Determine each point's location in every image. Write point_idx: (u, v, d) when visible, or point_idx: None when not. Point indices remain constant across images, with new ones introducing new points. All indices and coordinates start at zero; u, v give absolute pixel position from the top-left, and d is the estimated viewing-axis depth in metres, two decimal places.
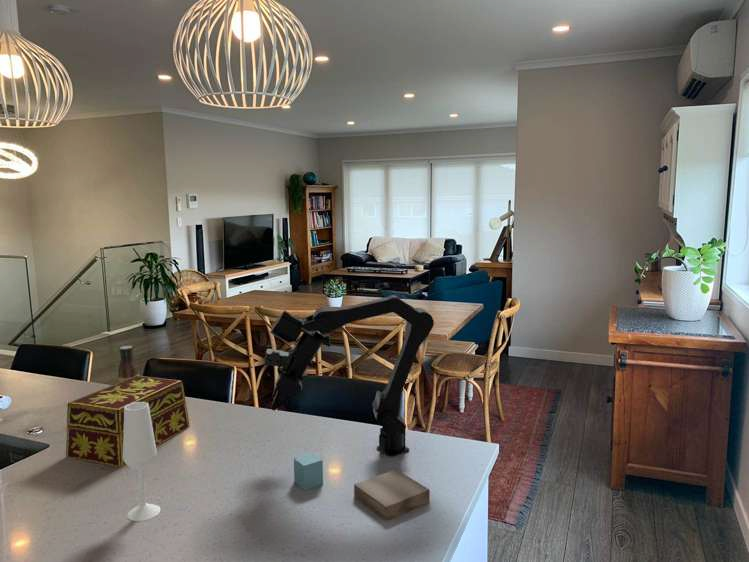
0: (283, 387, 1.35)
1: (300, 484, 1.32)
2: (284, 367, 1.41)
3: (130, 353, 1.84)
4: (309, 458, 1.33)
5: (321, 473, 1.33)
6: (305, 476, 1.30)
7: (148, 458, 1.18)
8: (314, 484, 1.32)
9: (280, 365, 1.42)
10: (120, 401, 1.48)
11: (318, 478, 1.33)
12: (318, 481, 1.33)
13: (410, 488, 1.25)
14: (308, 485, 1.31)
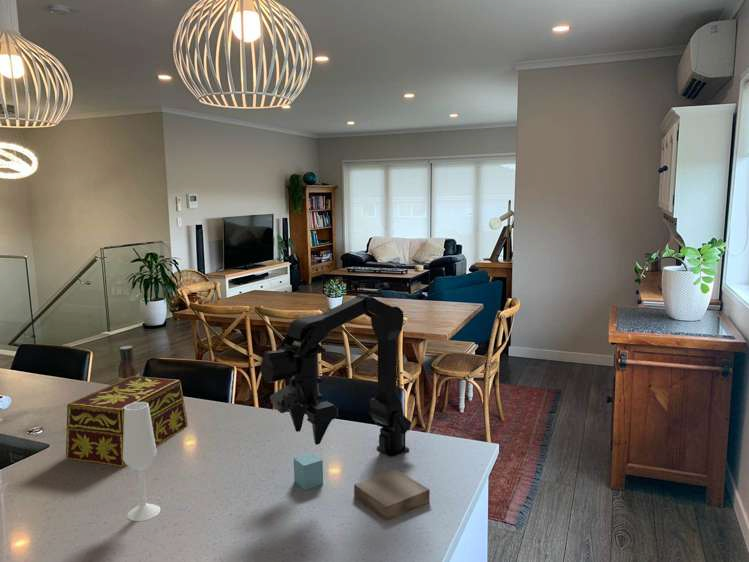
0: (322, 419, 1.23)
1: (300, 484, 1.32)
2: (302, 401, 1.27)
3: (130, 353, 1.84)
4: (309, 458, 1.33)
5: (321, 473, 1.33)
6: (305, 476, 1.30)
7: (148, 458, 1.18)
8: (314, 484, 1.32)
9: None
10: (121, 401, 1.48)
11: (318, 478, 1.33)
12: (318, 481, 1.33)
13: (410, 488, 1.25)
14: (308, 485, 1.31)
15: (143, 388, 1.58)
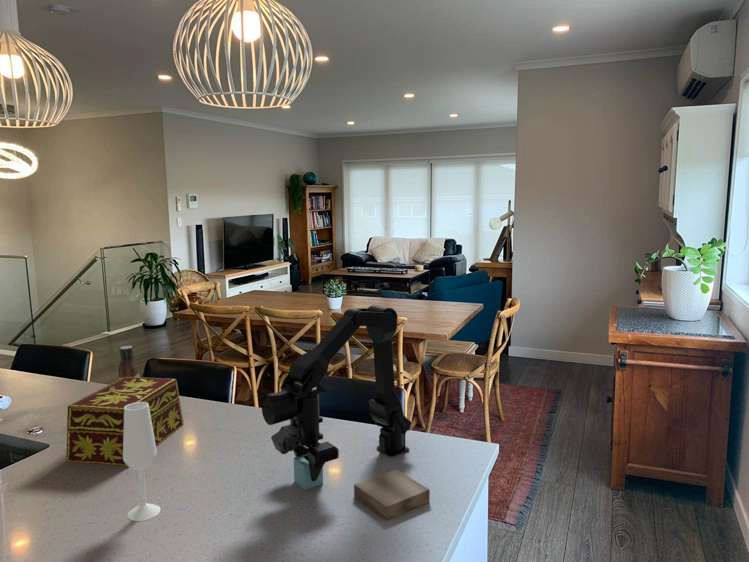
0: (323, 461, 1.25)
1: (300, 484, 1.32)
2: (303, 441, 1.29)
3: (130, 353, 1.84)
4: None
5: (321, 473, 1.33)
6: (305, 476, 1.30)
7: (148, 458, 1.18)
8: (314, 484, 1.32)
9: None
10: (124, 401, 1.48)
11: (318, 477, 1.33)
12: (318, 481, 1.33)
13: (410, 488, 1.25)
14: (308, 484, 1.31)
15: (141, 388, 1.59)
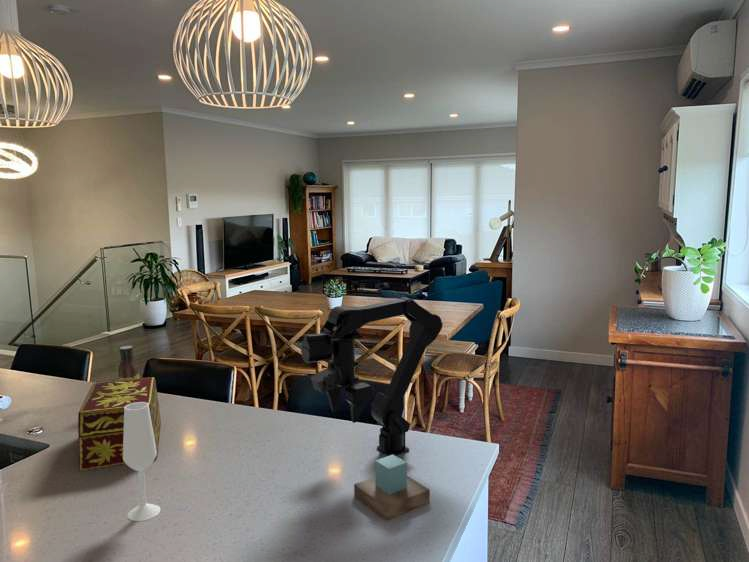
0: (360, 398, 1.34)
1: (383, 488, 1.24)
2: (340, 382, 1.38)
3: (130, 353, 1.84)
4: (392, 461, 1.25)
5: (405, 476, 1.25)
6: (390, 480, 1.22)
7: (148, 458, 1.18)
8: (398, 488, 1.24)
9: None
10: (135, 399, 1.49)
11: (402, 481, 1.24)
12: (402, 485, 1.24)
13: (410, 488, 1.25)
14: (393, 489, 1.23)
15: (132, 388, 1.59)
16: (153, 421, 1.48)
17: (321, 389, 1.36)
